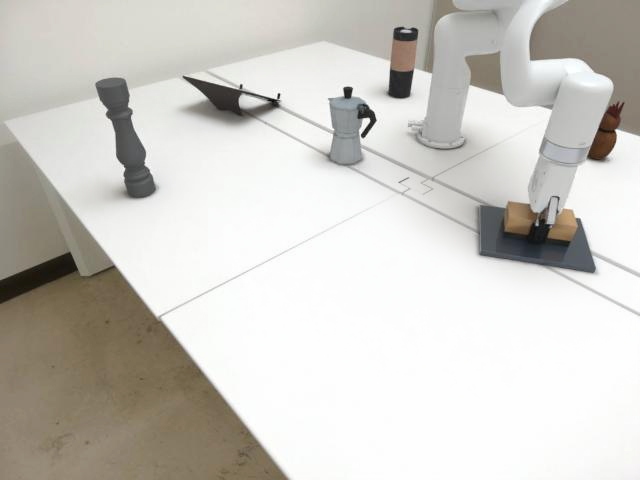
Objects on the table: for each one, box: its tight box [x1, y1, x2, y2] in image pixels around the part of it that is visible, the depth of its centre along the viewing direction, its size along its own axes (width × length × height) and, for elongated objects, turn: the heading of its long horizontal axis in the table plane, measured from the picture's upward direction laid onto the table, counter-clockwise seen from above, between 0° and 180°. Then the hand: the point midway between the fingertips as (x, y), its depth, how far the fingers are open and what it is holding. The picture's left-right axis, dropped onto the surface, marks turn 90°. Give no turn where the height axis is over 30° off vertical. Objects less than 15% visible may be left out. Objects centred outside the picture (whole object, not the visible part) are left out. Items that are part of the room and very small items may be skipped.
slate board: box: [478, 204, 597, 273], centre depth 90 cm, size 20×16×1 cm
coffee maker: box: [327, 85, 378, 166], centre depth 111 cm, size 15×9×18 cm, turn 47°
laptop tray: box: [181, 75, 282, 117], centre depth 140 cm, size 23×23×9 cm
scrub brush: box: [502, 200, 578, 247], centre depth 89 cm, size 12×6×5 cm, turn 75°
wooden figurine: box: [587, 101, 626, 160], centre depth 112 cm, size 7×6×15 cm
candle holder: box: [94, 76, 157, 199], centre depth 97 cm, size 6×6×25 cm
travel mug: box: [388, 26, 419, 99], centre depth 144 cm, size 8×8×20 cm
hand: (534, 230), depth 90 cm, fingers closed on scrub brush, 5 cm apart
